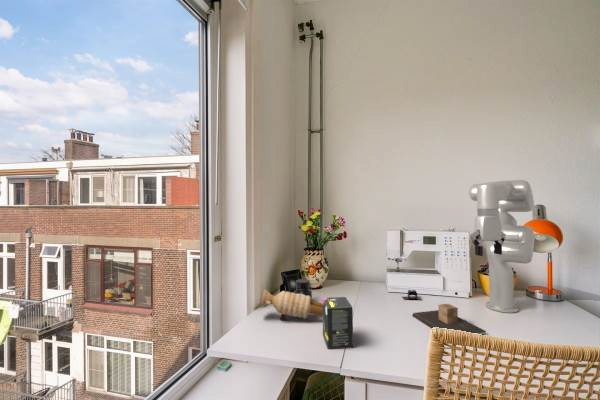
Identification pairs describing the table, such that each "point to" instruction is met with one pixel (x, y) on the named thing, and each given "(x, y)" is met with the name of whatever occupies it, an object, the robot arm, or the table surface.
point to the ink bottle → (303, 287)
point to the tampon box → (337, 323)
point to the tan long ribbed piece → (292, 304)
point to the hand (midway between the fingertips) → (488, 254)
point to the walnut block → (448, 313)
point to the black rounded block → (412, 296)
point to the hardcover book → (433, 321)
